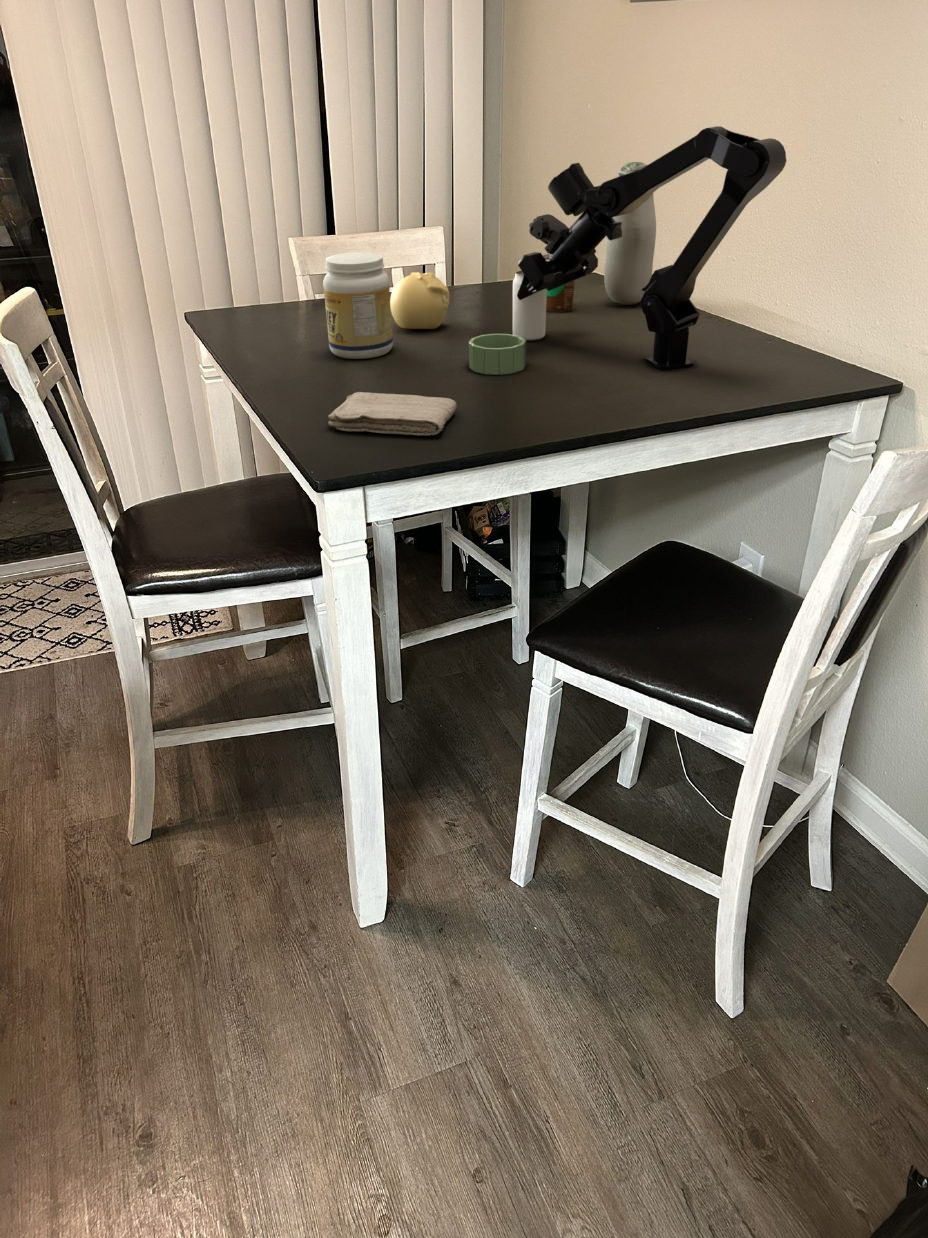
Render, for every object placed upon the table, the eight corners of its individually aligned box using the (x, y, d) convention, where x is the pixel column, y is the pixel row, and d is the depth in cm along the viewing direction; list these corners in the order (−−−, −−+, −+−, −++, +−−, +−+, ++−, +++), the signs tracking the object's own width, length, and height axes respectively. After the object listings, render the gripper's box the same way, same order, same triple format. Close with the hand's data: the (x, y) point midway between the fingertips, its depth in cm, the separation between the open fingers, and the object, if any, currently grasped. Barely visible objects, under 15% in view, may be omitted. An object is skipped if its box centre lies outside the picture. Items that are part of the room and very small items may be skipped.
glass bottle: (595, 301, 204) (602, 160, 189) (637, 296, 206) (647, 158, 191) (614, 311, 196) (623, 165, 181) (657, 306, 198) (670, 162, 183)
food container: (522, 303, 203) (523, 256, 198) (547, 300, 205) (548, 253, 200) (550, 315, 194) (551, 266, 188) (575, 312, 196) (577, 262, 190)
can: (552, 335, 180) (553, 272, 174) (530, 342, 176) (531, 277, 170) (527, 330, 184) (528, 267, 178) (505, 337, 180) (505, 273, 174)
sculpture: (458, 330, 186) (456, 274, 180) (402, 337, 182) (398, 280, 176) (438, 317, 195) (436, 264, 189) (384, 324, 191) (381, 269, 185)
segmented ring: (532, 370, 161) (533, 345, 159) (479, 377, 159) (479, 351, 157) (514, 356, 169) (514, 331, 167) (463, 361, 167) (462, 336, 165)
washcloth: (351, 405, 148) (349, 387, 146) (459, 411, 144) (458, 392, 142) (325, 432, 138) (323, 412, 136) (441, 439, 134) (440, 418, 133)
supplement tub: (323, 347, 177) (313, 254, 168) (383, 339, 181) (376, 248, 172) (338, 363, 168) (329, 266, 159) (401, 355, 171) (396, 259, 162)
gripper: (587, 193, 170) (538, 250, 182) (526, 206, 158) (478, 267, 170) (621, 242, 169) (570, 296, 181) (563, 259, 157) (512, 316, 169)
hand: (533, 293), depth 175 cm, fingers open, 9 cm apart
